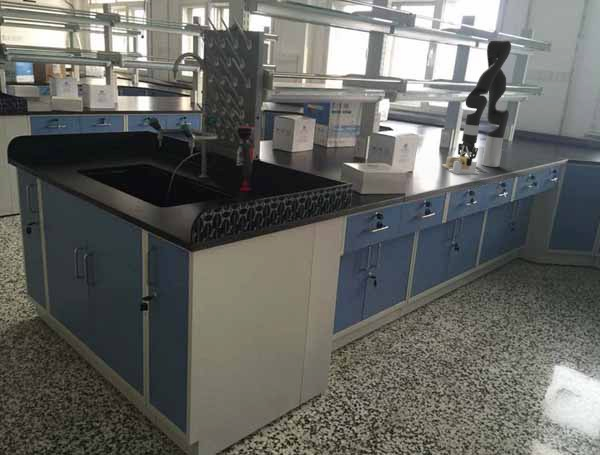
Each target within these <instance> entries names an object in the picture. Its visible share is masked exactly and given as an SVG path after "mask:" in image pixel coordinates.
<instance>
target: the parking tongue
mask: <svg viewBox="0 0 600 455" xmlns="http://www.w3.org/2000/svg"><path fill="white" fill-rule="evenodd" d="M459 157H460V156H458V157H457V156H447V157H446V162H445V163H444V164H443V163H442V164H441V167H442V168H445V169H448V170H449V169H453V164H454V161H459V159H460V158H459Z"/></svg>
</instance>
